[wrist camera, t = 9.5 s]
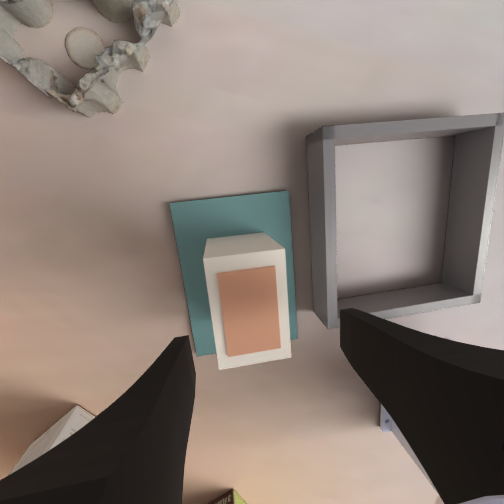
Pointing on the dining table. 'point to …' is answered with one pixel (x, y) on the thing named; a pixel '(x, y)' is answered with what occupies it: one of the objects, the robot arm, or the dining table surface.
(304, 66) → the dining table surface
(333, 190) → the bin
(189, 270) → the mat
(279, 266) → the box
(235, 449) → the dining table surface
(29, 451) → the small box
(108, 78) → the egg carton
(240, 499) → the protein box
